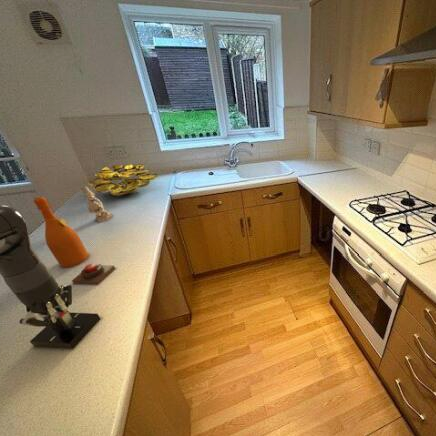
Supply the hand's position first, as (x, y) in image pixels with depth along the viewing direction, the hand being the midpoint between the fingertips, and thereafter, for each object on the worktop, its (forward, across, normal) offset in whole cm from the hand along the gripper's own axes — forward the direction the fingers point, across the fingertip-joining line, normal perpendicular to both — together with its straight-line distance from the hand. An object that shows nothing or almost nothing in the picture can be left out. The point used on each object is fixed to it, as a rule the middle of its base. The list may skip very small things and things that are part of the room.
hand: (63, 324), depth 70 cm
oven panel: (+4, 0, 0) cm, 4 cm away
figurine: (+4, -72, -42) cm, 84 cm away
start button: (0, -25, -11) cm, 27 cm away
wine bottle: (+4, -34, -27) cm, 44 cm away
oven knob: (+1, 0, 0) cm, 1 cm away
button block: (+4, -25, -11) cm, 27 cm away
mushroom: (+4, -114, -54) cm, 126 cm away
